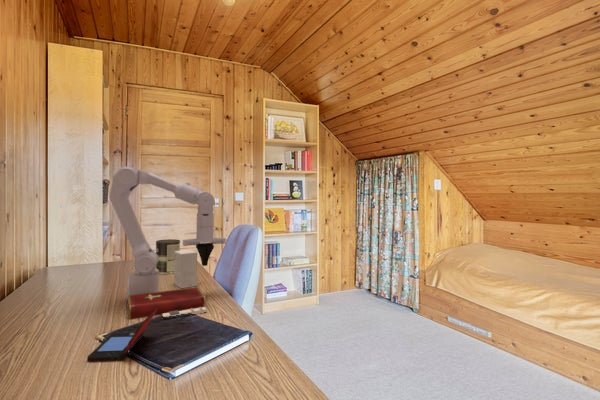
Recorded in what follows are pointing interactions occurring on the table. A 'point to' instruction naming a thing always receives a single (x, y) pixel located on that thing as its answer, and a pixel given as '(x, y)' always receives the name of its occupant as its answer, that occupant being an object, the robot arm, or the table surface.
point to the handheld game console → (118, 344)
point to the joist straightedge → (185, 312)
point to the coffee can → (166, 255)
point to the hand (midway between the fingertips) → (204, 265)
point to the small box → (185, 268)
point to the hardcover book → (165, 302)
